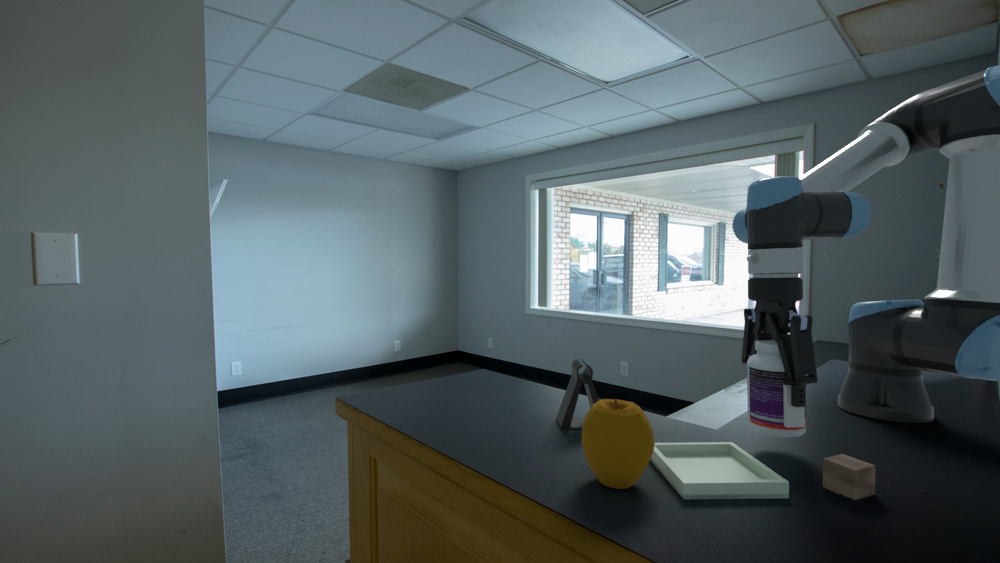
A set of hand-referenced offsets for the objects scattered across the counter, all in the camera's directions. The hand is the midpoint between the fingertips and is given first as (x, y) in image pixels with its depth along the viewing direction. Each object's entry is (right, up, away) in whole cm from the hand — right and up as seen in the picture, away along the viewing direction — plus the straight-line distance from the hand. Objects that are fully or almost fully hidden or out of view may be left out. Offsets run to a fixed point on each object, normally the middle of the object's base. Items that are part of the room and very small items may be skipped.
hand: (775, 416), depth 73 cm
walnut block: (+2, -6, -13) cm, 14 cm away
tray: (-14, -6, -8) cm, 18 cm away
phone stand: (-29, -6, +13) cm, 32 cm away
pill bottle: (0, -3, 0) cm, 3 cm away
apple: (-28, -6, -11) cm, 31 cm away
